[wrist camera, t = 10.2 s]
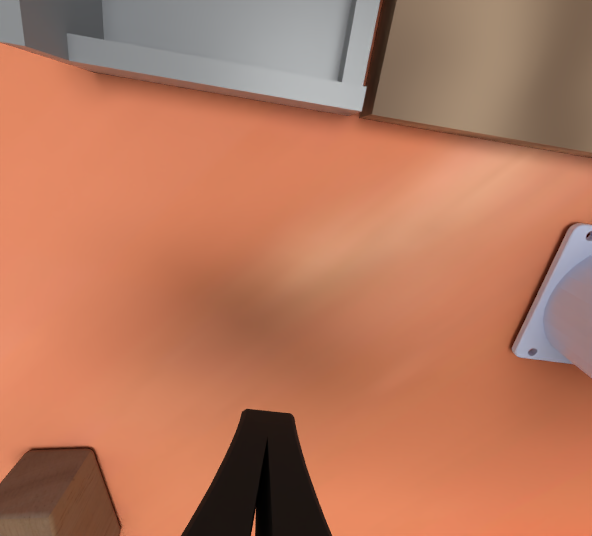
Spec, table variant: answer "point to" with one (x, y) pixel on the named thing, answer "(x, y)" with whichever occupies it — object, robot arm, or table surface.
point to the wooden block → (56, 496)
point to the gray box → (210, 44)
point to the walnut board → (486, 70)
